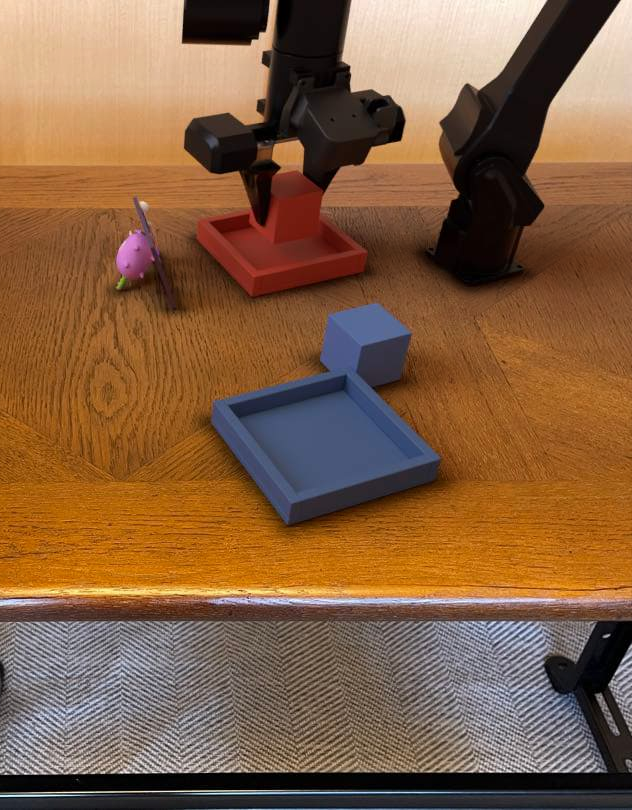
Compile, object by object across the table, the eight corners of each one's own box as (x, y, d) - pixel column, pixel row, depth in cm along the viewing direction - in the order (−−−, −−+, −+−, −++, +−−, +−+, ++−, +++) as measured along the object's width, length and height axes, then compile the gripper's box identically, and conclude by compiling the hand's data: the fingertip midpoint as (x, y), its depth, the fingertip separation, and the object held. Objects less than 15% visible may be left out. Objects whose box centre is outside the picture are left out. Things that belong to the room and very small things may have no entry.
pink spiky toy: (162, 242, 76) (143, 192, 82) (103, 265, 76) (89, 213, 83) (185, 305, 80) (165, 252, 87) (128, 326, 80) (113, 272, 87)
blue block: (367, 348, 76) (377, 302, 73) (400, 380, 72) (412, 332, 69) (319, 360, 74) (328, 314, 71) (351, 393, 71) (361, 345, 68)
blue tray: (345, 387, 72) (350, 365, 70) (435, 481, 64) (442, 458, 62) (210, 422, 68) (213, 401, 67) (287, 526, 60) (291, 503, 59)
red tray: (300, 217, 93) (303, 198, 91) (363, 272, 85) (368, 251, 83) (196, 238, 89) (197, 219, 88) (251, 297, 82) (254, 276, 80)
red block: (291, 214, 88) (297, 169, 85) (316, 235, 84) (323, 190, 81) (248, 222, 86) (253, 177, 84) (272, 245, 83) (279, 199, 80)
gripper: (253, 97, 66) (233, 283, 76) (467, 63, 71) (422, 241, 81) (186, 48, 74) (176, 222, 84) (383, 20, 80) (351, 188, 89)
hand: (283, 219), depth 85 cm, fingers closed on red block, 4 cm apart
